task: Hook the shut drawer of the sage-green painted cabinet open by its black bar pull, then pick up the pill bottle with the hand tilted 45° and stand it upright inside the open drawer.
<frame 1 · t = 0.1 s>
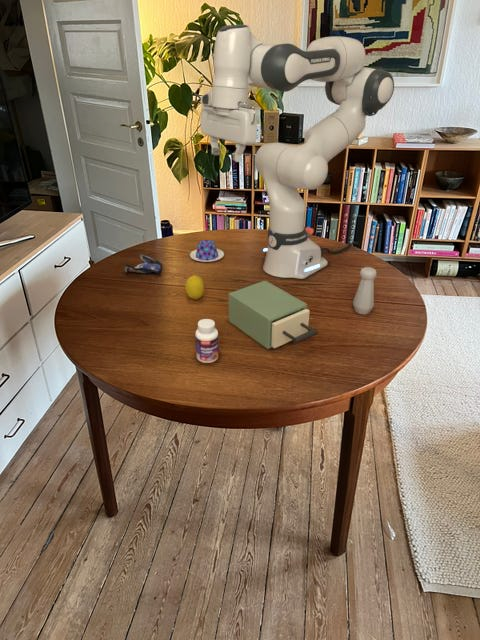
hand: (225, 158, 122), 39 cm above the table, tool pointing down, fingers open, 8 cm apart
lemon: (195, 300, 137), on the table
pudding: (207, 257, 163), on the table
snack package: (145, 272, 153), on the table
cabinet: (266, 326, 124), on the table
salt shaker: (362, 311, 131), on the table
drawer: (278, 320, 118), point 4 cm above the table, slide at 0.5 cm
pill bottle: (207, 357, 113), on the table
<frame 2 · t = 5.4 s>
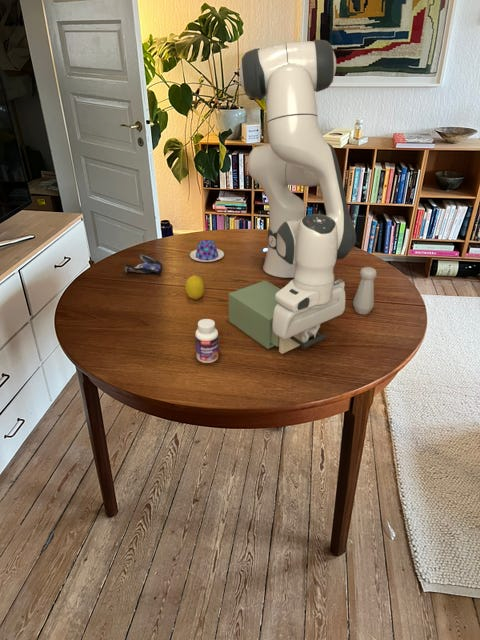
hand: (308, 340, 111), 4 cm above the table, tool pointing down, fingers closed, pressing on drawer
drawer: (286, 325, 116), point 4 cm above the table, slide at 3.4 cm, touching gripper
everything else where it was.
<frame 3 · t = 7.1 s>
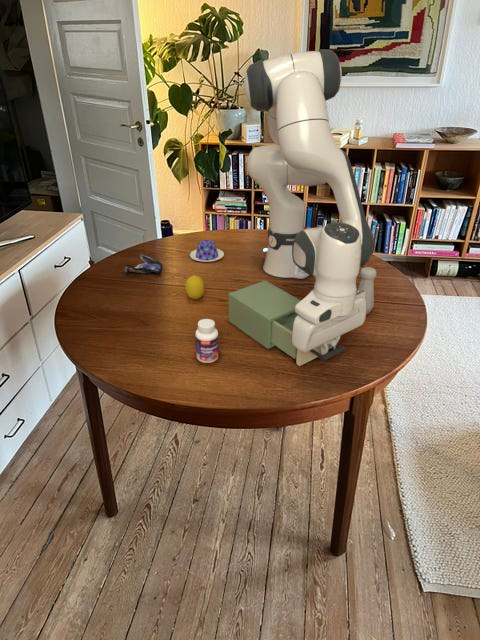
hand: (327, 352, 107), 4 cm above the table, tool pointing down, fingers closed
drawer: (303, 336, 112), point 4 cm above the table, slide at 9.5 cm
everything else where it was.
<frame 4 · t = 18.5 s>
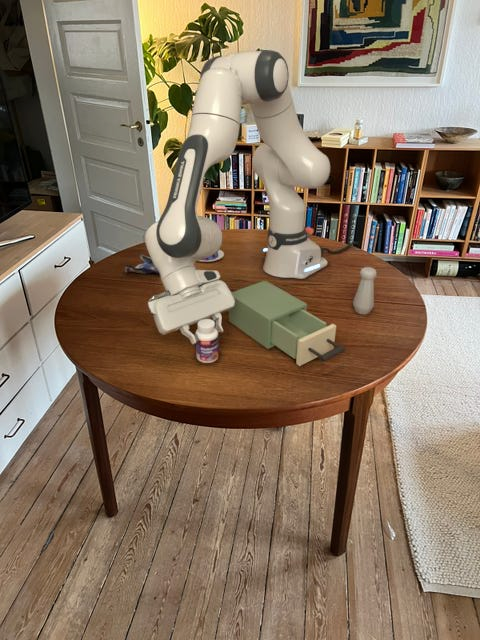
hand: (208, 338, 109), 6 cm above the table, tool tilted 45°, fingers closed on pill bottle, 5 cm apart
pill bottle: (207, 357, 113), on the table, touching gripper
everything else where it was.
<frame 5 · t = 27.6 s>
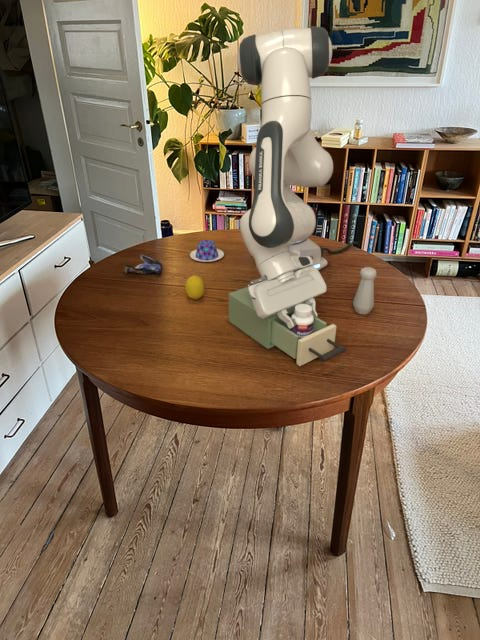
hand: (304, 322, 110), 8 cm above the table, tool tilted 45°, fingers closed on pill bottle, 5 cm apart
pill bottle: (300, 342, 114), point 2 cm above the table, touching gripper
everything else where it was.
when the fingers open (9 cm above the table, at t = 34.1 s): pill bottle stays where it is, resting on drawer.
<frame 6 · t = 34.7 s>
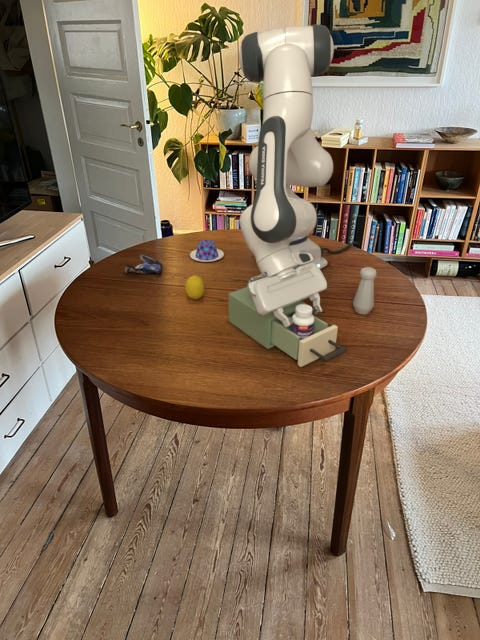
hand: (304, 319, 110), 9 cm above the table, tool tilted 45°, fingers open, 8 cm apart
drawer: (304, 337, 112), point 4 cm above the table, slide at 10.0 cm, touching pill bottle
pill bottle: (301, 343, 114), point 2 cm above the table, touching drawer
everything else where it was.
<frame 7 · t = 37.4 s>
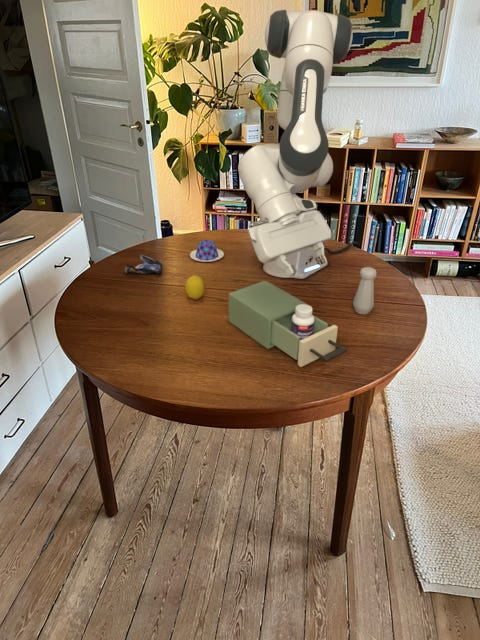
hand: (308, 268, 103), 22 cm above the table, tool tilted 45°, fingers open, 8 cm apart
nothing on the table moved.
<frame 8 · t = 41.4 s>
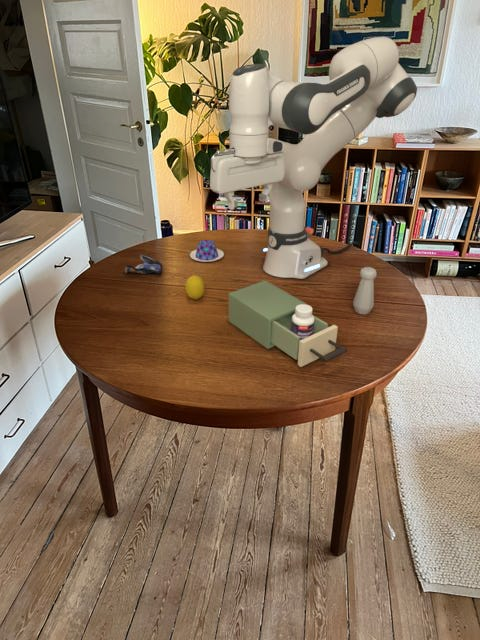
hand: (248, 205, 113), 31 cm above the table, tool pointing down, fingers open, 8 cm apart
nothing on the table moved.
at the end: drawer slide at 10.0 cm; pill bottle inside the target area in the drawer (0.4 cm from its centre), point 1.8 cm above the cabinet's base; pill bottle tilted 0° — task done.
